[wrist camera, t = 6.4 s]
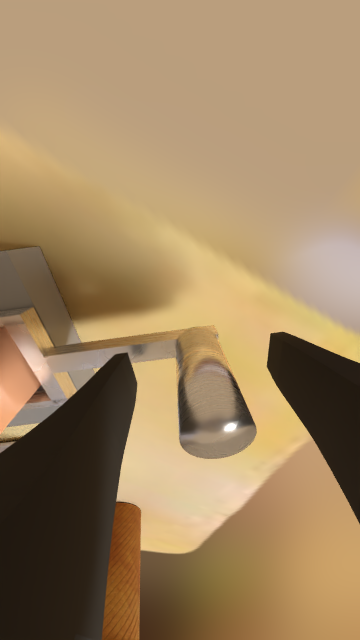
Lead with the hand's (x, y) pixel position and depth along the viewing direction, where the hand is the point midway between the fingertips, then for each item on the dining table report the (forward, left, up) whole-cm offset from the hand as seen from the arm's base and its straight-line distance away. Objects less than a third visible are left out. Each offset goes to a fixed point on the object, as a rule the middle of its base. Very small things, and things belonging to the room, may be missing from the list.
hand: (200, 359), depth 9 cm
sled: (0, +8, -2) cm, 8 cm away
